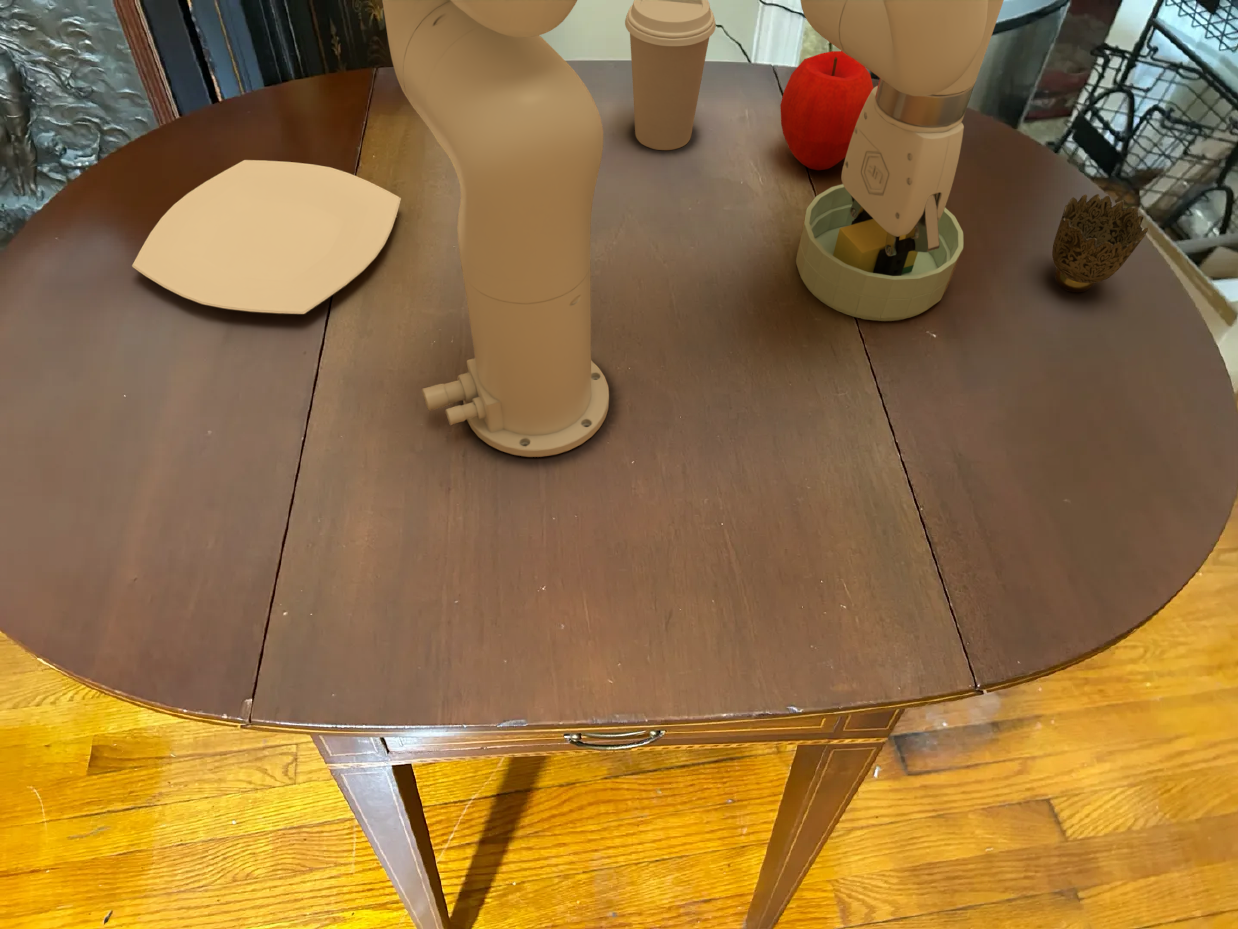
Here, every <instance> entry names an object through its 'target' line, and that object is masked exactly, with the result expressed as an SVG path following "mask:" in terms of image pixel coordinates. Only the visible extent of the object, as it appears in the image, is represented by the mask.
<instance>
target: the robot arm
mask: <svg viewBox="0 0 1238 929" xmlns="http://www.w3.org/2000/svg"><path fill="white" fill-rule="evenodd" d="M577 1H578V0H382V7H383V15H384V22H385V29H386V33H387V42H388V48H389V52H390V59H391V63H392V66H393V69H394V70H393V71H394V73H395V76H396V79H397V82H398V84H399V86H400V89H401V91H402V93H403V94H404V96H405V98H406V99H407V101H408V102H409V104H410V106H411V107H412V108H413V109H414V111H415V112H416V113H417V114H418V116H419V118H421V120H422V121H423V123H424V124H425V125H426V126H427V128H428V129H429V130H430V132H431V133H432V135H433V137H434V139H435V140H436V142H437V143H438V145H439V146H440V147H441V148H442V150H443V151H444V152H445V154H446V155H447V156H448V158H449V160H450V162H451V164H452V166H453V168H454V171H455V174H456V176H457V180H458V183H459V184H458V185H459V190H460V201H459V209H458V214H457V224H456V225H457V230H456V231H457V232H456V233H457V245H458V254H459V258H460V266H461V271H462V276H463V277H462V278H463V285H464V290H465V297H466V304H467V310H468V311H467V312H468V319H469V325H470V332H471V340H472V347H473V353H474V357H473V358H470V359H467V360H466V366H467V372H465V373H461V374H458V375H457V380H454V381H450V382H446V383H438V384H435V385H431V386H428V387H427V386H426V387H425V388H421V392H422V397H423V400H424V404H425V405H426V408H427V411H428V412H431V411H434V410H436V409H441V408H444V407H447V406H450V404H454V403H457V402H461V401H463V404H462V405H461V404H458V405H455V406H453V407H452V406H451V407H449V408H445V409H444V410H445V414H446V415H445V416H446V418H447V420H448V423H449V425H450V426H452V425H455V424H459V423H462V422H465V421H467V423H468V425H469V427H470V429H471V430H472V431H473V432H474V433H475V435H476V436H477V437H478V438H479V439H480V440H482V441H483V442H484V443H485V444H486V445H488V446H490V447H492V448H494V449H496V450H498V451H500V452H504V453H506V454H510V455H514V456H519V457H520V456H521V457H527V458H533V457H534V458H536V457H537V458H539V457H540V458H542V457H549V456H556V455H559V454H562V453H566V452H568V451H570V450H572V449H575V448H577V447H578V446H581V445H583V444H584V443H585V442H586V441H588V440H590V438H593V436H594V435H595V434H596V433H597V432H598V431H599V429H601V426H602V425H603V423H604V422H605V420H606V418H607V414H608V411H609V406H610V405H609V404H610V391H609V390H610V389H609V384H608V382H607V379H606V376H605V375H604V373H603V372H602V370H601V368H599V366H598V365H597V364H596V363H595V362H594V361H593V360H592V272H591V271H592V265H591V264H592V262H591V233H592V232H591V227H592V226H591V225H592V211H593V210H592V209H593V203H594V202H593V201H594V195H595V190H596V184H597V182H598V177H599V172H600V169H601V168H600V167H601V164H602V158H603V152H604V151H603V150H604V129H603V128H604V127H603V122H602V119H601V114H600V112H599V109H598V107H597V104H596V102H595V100H594V98H593V95H592V94H591V92H590V91H589V89H588V87H587V86H586V84H585V83H584V81H583V79H582V78H581V77H580V76H579V75H578V73H577V72H576V71H575V70H574V69H573V67H572V66H571V65H570V64H569V63H568V62H567V61H566V60H565V59H564V58H563V57H562V55H560V54H559V53H558V52H557V51H556V50H555V49H554V48H553V47H552V45H550V44H549V43H548V42H547V41H546V40H545V39H544V38H543V37H542V35H544V34H547V33H550V32H551V31H552V30H553V31H554V29H556V28H557V27H558V26H559V25H561V24H562V23H563V22H564V21H565V20H566V19H567V17H568V16H569V15H570V14H571V12H572V11H573V9H574V7H575V6H576V4H577ZM799 1H800V6H801V10H802V13H803V16H804V18H805V19H806V21H807V23H808V24H809V25H810V26H811V28H812V29H813V30H814V31H815V32H816V33H817V34H818V35H819V36H821V37H822V38H824V39H825V40H826V41H827V42H828V43H830V44H831V45H833V46H834V47H836V49H838V50H839V51H842V52H844V53H845V54H847V55H848V56H850V57H851V58H853V59H855V60H856V61H857V62H859V63H860V64H862V65H863V66H864V67H865V68H866V69H867V70H868V71H870V72H871V73H872V74H874V75H875V76H877V77H878V78H879V80H878V85H876V86H874V87H873V90H872V91H871V93H870V95H869V97H868V98H867V100H866V102H865V104H864V107H863V109H862V111H861V113H860V116H859V118H858V121H857V123H856V126H855V129H854V132H853V135H852V138H851V141H850V144H849V147H848V151H847V154H846V157H845V158H844V162H843V166H842V169H841V179H840V180H841V184H843V185H844V187H845V189H846V190H847V191H848V192H849V193H850V195H851V197H852V202H853V204H852V206H851V208H850V215H851V217H852V218H853V219H854V221H852V223H851V225H853V224H856V223H860V222H864V221H867V220H871V219H874V220H875V221H876V222H877V223H878V224H879V225H880V226H881V227H882V228H883V229H885V230H886V231H887V238H886V244H885V249H882V250H880V251H879V254H878V257H877V260H876V263H875V267H874V270H873V273H877V274H883V275H889V276H901V274H902V271H903V268H904V265H905V262H906V259H907V256H908V253H909V252H910V251H915V252H925V253H926V252H929V251H933V250H936V249H938V248H939V246H940V242H939V230H938V221H939V220H940V218H941V216H942V213H943V211H944V208H946V206H947V203H948V200H949V198H950V193H951V191H952V187H953V183H954V180H955V176H956V173H957V168H958V163H959V159H960V154H961V148H962V144H963V137H964V129H965V126H964V123H963V122H962V121H963V120H964V117H965V114H966V112H967V109H968V106H969V102H970V100H971V96H972V94H973V90H974V88H975V85H976V81H977V78H978V76H979V74H980V70H981V68H982V64H983V61H984V59H985V56H986V53H987V51H988V47H989V45H990V42H991V38H992V36H993V34H994V33H993V32H994V30H995V27H996V24H997V21H998V18H999V15H1000V12H1001V9H1002V6H1003V4H1004V0H799ZM905 234H906V237H905V239H902V240H899V238H900V236H901V235H905Z"/></svg>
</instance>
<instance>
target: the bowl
mask: <svg viewBox="0 0 1238 929" xmlns="http://www.w3.org/2000/svg"><path fill="white" fill-rule="evenodd" d="M852 204H853V202H852V197H851V195H850V193H849V192H848V191H847V190H846V189H845V187H844V185H843V183H841V184H837V185H834V186H831V187H829V188H827V189H826V190H824V191H823V192H821V193H819V194H817V195H816V196H815V197H814V198H813V200H812V201H811V202H810V203H809V204H808V206H807V207H806V210H805V213H804V214H805V215H804V219H803V222H802V227H801V232H800V236H799V241H798V246H797V252H796V258H795V264H796V267H797V270H798V273H799V275H800V276H799V277H800V279H801V280H802V282H803V284H804V285H805V287H806V288H807V289H808V291H809V292H810V293H811V294H812V295H813V296H814V297H815V298H816V299H818V300H819V301H820V302H822V303H823V304H824V305H826V306H827V307H829V308H831V309H833V310H835V311H837V312H839V313H842V314H844V315H847V316H850V317H854V318H857V319H862V320H868V321H876V322H892V321H893V322H894V321H901V320H907V319H910V318H913V317H915V316H918V315H920V314H922V313H924V312H926V311H928V310H929V309H930V308H932V307H933V306H935V305H936V304H937V303H939V302H940V301H941V300H942V299H943V297H944V295H945V293H946V291H947V290H948V287H949V285H950V283H951V281H952V278H953V276H954V273H955V271H956V267H957V265H958V263H959V261H960V258H961V255H962V253H963V250H964V231H963V229H962V227H961V225H960V223H959V222H958V219H957V218H956V216H955V215H954V214H953V213H952V212H951V211H950V210H949V209H948V208H947V207H945V208H944V211H943V213H942V216H941V218H940V220H939V221H938V230H939V242H940V246H939V248H938V249H936V250H933V251H929V252H926V253H925V252H918V254H917V257H916V260H915V263H914V266H913V269H912V271H911V272H908V273H904V274H901V276H889V275H883V274H877V273H870V272H866V271H863V270H861V269H858V268H855V267H853V266H850V265H847V264H845V263H843V262H842V261H840V260H839V259H837V258H836V257H834V256H833V253H834V249H835V245H836V241H837V237H838V233H839V229H840V228H842V227H846V226H849V225H851V223H852V221H854V219H853V218H852V217H851V215H850V208H851V206H852Z"/></svg>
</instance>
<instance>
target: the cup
mask: <svg viewBox="0 0 1238 929" xmlns="http://www.w3.org/2000/svg"><path fill="white" fill-rule="evenodd" d="M1124 203H1125V201H1124V199H1121V200H1119V201H1117V202H1116V203H1115V204H1114V205H1113V201H1112V200H1111V197H1110V195H1105V196H1104V197H1103V198H1101V196H1100V194H1099V193H1097V194H1094V195H1093V196H1092V197H1090V198H1089V199H1088V194H1083V195H1081V197H1080V198H1079V200H1077V199H1076V197H1074V196H1073V197H1071V199H1070V200H1069V201H1068V202H1067V203H1066V204H1065V205H1064V209H1063V213H1062V216H1061V219H1060V221H1059V224H1058V228H1057V231H1056V233H1055V238H1054V240H1053V244H1052V251H1051V254H1052V255H1051V257H1052V262H1053V265H1054V266H1055V268H1056V270H1055V273H1054V274H1055V282H1056V283H1057V284H1058V286H1059V287H1060V288H1062V289H1063V290H1066V291H1069V292H1070V293H1071V292H1072V293H1084V292H1086V291H1088V290H1090V289H1091V288H1092V287H1093V286H1094V285H1095V283H1099V282H1103V281H1105V280H1107V279H1109V278H1110V277H1112V276H1113V275H1115V274H1116V273H1117V272H1118V271H1119V270H1120V268H1121V267H1122V266H1123V265H1124V264H1125V263H1126V261H1127V260H1128V259H1129V258H1130V256H1132V254H1133V252H1134V251H1135V250H1136V248H1137V247H1138V246H1139V244H1140V243H1141V242H1142V240H1143V239H1144V238H1145V237H1146V234H1147V233H1148V231H1149V227H1144V228H1143V227H1142V226H1141V225H1142V222H1143V220H1144V215H1139V208H1138V207H1137V206H1130V207H1129V206H1128V207H1124V205H1125V204H1124Z"/></svg>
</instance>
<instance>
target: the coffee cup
mask: <svg viewBox="0 0 1238 929" xmlns="http://www.w3.org/2000/svg"><path fill="white" fill-rule="evenodd" d="M624 26H625V28H626V30H627V31H628V33H629V44H630V59H631V78H632V96H633V113H634V114H633V116H634V130H635V131H634V134H635V139H636V140H637V141H638V142H639V143H640V144H641V145H643V146H645V147H647V148H649V149H653V150H657V151H672V150H678V149H680V148H682V147H684V146H686V145H687V144H688V143H689V142H690V141H691V138H692V132H693V127H694V122H695V116H696V111H697V106H698V100H699V95H700V88H701V84H702V79H703V73H704V68H705V63H706V56H707V53H708V52H707V51H708V48H709V47H708V46H709V42H710V37H711V36H712V35H713V34H714V33H715V31H716V26H717V25H716V19H715V16H714V12H713V10H712V9H711V5H710V2H709V0H633V2H632V4H631V6H630V7H629V9H628V11H627V14H626V16H625V19H624Z"/></svg>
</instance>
